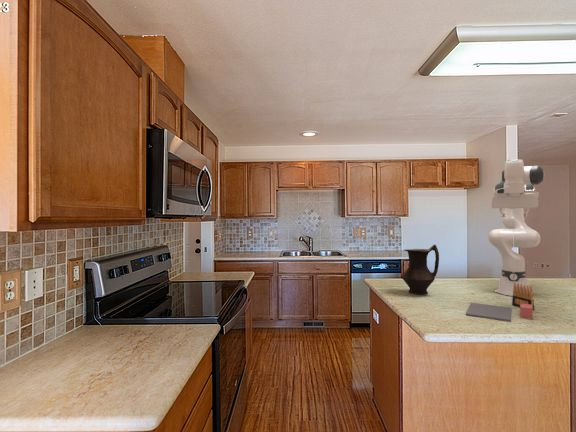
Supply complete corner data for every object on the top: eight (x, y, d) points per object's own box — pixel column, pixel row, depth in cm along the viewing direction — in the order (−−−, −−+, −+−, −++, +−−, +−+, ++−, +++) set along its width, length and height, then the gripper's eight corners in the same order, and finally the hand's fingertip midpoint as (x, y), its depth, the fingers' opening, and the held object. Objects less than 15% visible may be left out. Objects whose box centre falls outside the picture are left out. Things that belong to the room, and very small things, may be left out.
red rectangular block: (520, 313, 166) (520, 303, 166) (531, 315, 163) (531, 304, 163) (520, 317, 159) (520, 307, 159) (532, 319, 157) (532, 308, 157)
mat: (470, 303, 183) (470, 302, 183) (511, 309, 173) (511, 307, 173) (465, 315, 163) (465, 313, 163) (510, 321, 153) (510, 320, 153)
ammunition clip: (534, 310, 171) (534, 286, 171) (531, 310, 171) (531, 286, 171) (514, 304, 181) (514, 282, 181) (511, 304, 181) (511, 282, 181)
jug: (400, 295, 201) (400, 245, 201) (402, 289, 218) (402, 242, 218) (439, 299, 193) (439, 246, 193) (438, 292, 210) (438, 243, 210)
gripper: (538, 189, 174) (538, 217, 174) (491, 191, 185) (491, 216, 185) (539, 189, 169) (539, 217, 169) (491, 190, 180) (491, 216, 180)
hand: (514, 217), depth 177 cm, fingers open, 8 cm apart
